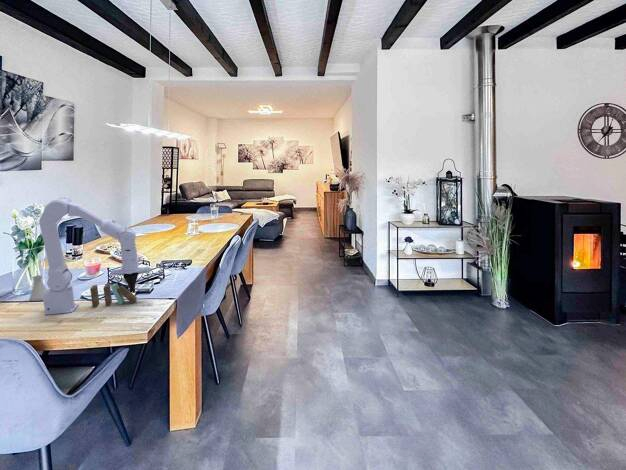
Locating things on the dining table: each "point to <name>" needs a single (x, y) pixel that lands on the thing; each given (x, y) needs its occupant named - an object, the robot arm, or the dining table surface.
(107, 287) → the domino
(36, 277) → the flask
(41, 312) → the dining table surface
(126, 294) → the domino
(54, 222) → the robot arm
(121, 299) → the domino
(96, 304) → the domino
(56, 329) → the dining table surface
